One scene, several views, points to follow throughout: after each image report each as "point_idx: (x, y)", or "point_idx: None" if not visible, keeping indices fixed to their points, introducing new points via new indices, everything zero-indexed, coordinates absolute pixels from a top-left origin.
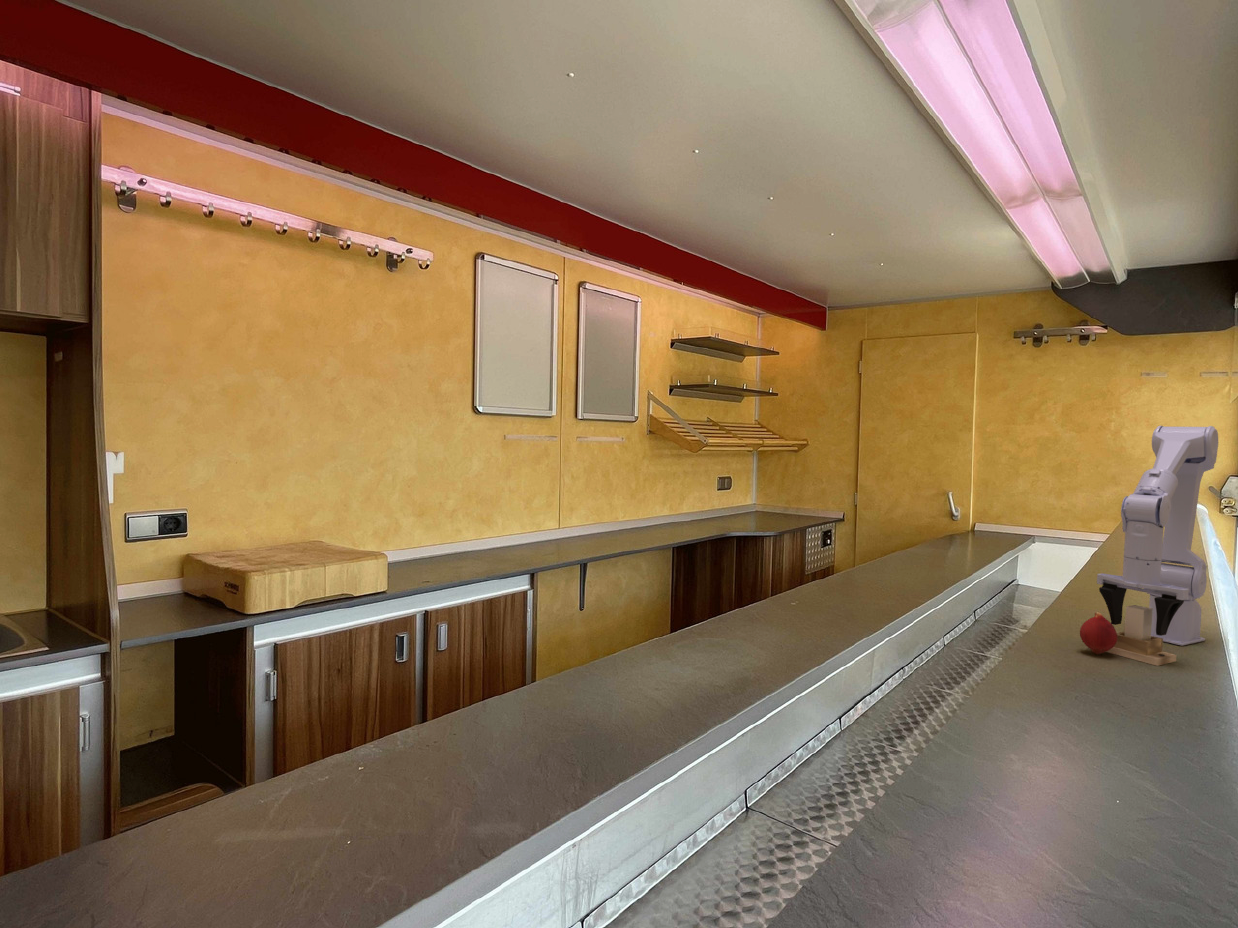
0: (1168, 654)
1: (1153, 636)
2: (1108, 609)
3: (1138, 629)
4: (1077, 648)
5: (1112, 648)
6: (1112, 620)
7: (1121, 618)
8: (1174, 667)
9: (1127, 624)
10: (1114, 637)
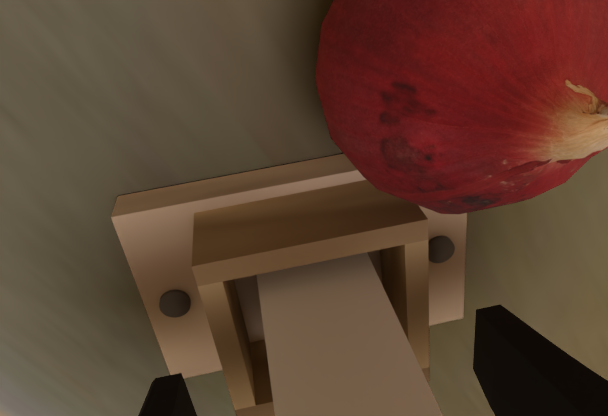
0: (187, 350)
1: None
2: (597, 374)
3: (297, 340)
4: None
5: None
6: (508, 321)
7: (492, 403)
8: (81, 264)
9: (384, 335)
10: (321, 88)
